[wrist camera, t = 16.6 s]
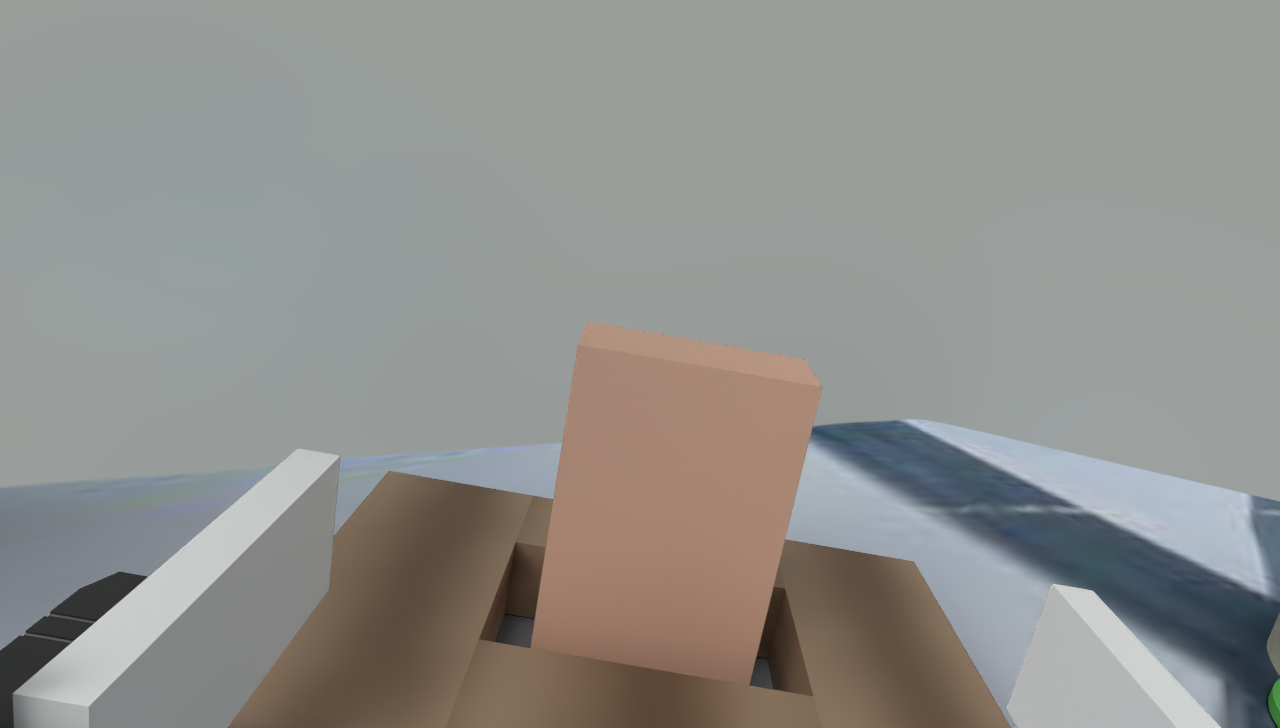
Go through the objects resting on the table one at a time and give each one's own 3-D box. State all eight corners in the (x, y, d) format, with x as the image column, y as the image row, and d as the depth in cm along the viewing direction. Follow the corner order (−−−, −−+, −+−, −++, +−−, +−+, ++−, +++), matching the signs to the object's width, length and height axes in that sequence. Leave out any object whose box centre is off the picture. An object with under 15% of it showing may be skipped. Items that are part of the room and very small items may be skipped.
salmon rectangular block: (521, 701, 26) (577, 344, 23) (536, 646, 29) (587, 321, 26) (736, 738, 26) (822, 387, 23) (729, 678, 29) (804, 359, 26)
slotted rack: (197, 793, 21) (200, 694, 20) (382, 536, 34) (388, 470, 33) (1041, 934, 21) (1078, 842, 20) (895, 624, 35) (913, 561, 34)
